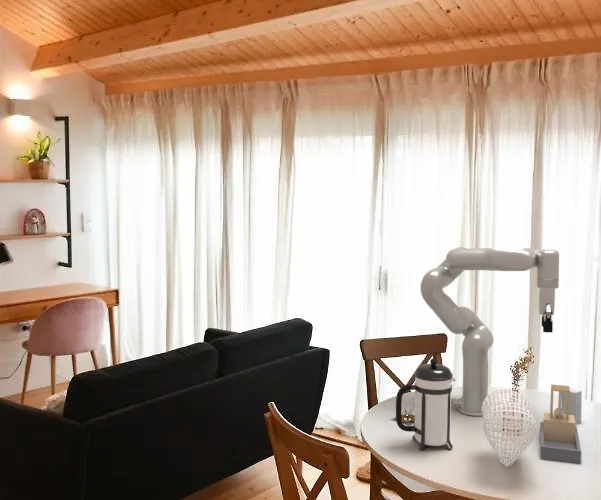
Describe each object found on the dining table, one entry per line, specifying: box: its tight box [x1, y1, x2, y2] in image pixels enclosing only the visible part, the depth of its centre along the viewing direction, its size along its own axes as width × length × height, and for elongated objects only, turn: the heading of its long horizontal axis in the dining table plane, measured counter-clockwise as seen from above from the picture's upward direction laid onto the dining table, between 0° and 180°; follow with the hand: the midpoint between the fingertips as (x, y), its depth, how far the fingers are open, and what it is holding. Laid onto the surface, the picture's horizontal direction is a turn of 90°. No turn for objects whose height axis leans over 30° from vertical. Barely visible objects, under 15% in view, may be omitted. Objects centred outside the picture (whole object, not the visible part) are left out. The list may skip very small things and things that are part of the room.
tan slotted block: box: [549, 384, 570, 421], centre depth 234 cm, size 6×6×11 cm
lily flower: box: [392, 408, 415, 426], centre depth 255 cm, size 12×12×5 cm
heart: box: [481, 388, 537, 467], centre depth 213 cm, size 28×16×22 cm, turn 167°
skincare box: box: [561, 387, 583, 425], centre depth 253 cm, size 6×4×12 cm
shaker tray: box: [539, 411, 582, 465], centre depth 229 cm, size 12×24×8 cm, turn 161°
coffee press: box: [395, 357, 457, 452], centre depth 230 cm, size 17×16×30 cm
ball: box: [553, 407, 565, 418], centre depth 235 cm, size 3×3×3 cm
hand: (546, 329), depth 250 cm, fingers open, 9 cm apart
